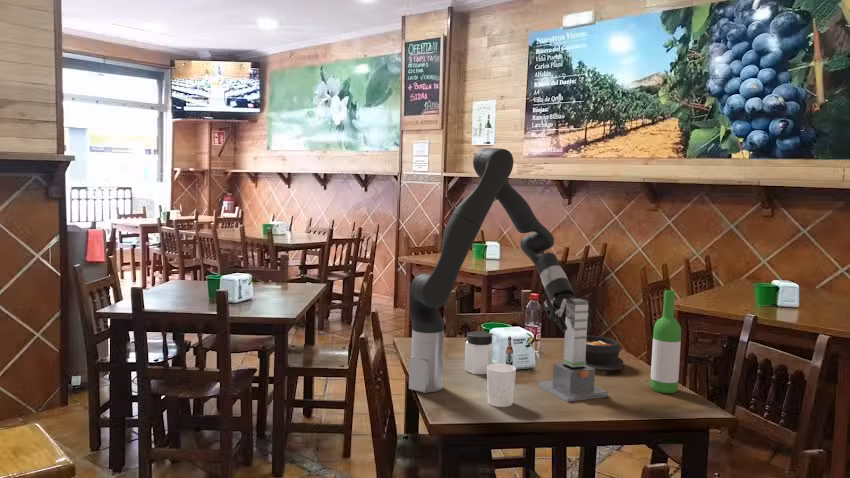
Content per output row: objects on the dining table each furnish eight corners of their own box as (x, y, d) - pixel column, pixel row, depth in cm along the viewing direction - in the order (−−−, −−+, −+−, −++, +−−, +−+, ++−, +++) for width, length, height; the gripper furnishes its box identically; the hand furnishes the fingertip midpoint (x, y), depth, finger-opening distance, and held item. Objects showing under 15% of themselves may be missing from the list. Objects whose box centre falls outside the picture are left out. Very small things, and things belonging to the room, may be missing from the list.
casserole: (635, 376, 203) (636, 350, 202) (578, 375, 202) (579, 349, 201) (608, 355, 228) (610, 332, 227) (557, 354, 227) (558, 331, 226)
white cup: (495, 396, 179) (497, 361, 178) (520, 403, 174) (521, 367, 173) (480, 403, 173) (481, 367, 172) (504, 410, 168) (506, 373, 167)
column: (586, 366, 183) (589, 301, 181) (572, 367, 181) (575, 302, 180) (576, 361, 188) (579, 298, 186) (562, 363, 186) (565, 299, 184)
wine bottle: (679, 389, 190) (685, 290, 188) (675, 396, 184) (681, 293, 181) (652, 384, 194) (658, 287, 192) (647, 391, 188) (653, 290, 185)
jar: (486, 376, 198) (487, 338, 197) (461, 372, 201) (462, 335, 200) (494, 369, 206) (496, 332, 205) (470, 365, 209) (472, 329, 208)
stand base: (607, 396, 181) (609, 371, 181) (567, 401, 176) (568, 375, 175) (578, 382, 194) (579, 358, 194) (539, 386, 189) (540, 362, 188)
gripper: (541, 277, 187) (562, 323, 177) (581, 276, 193) (603, 321, 183) (531, 292, 192) (550, 338, 183) (570, 290, 198) (591, 335, 188)
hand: (577, 329), depth 183 cm, fingers open, 8 cm apart
